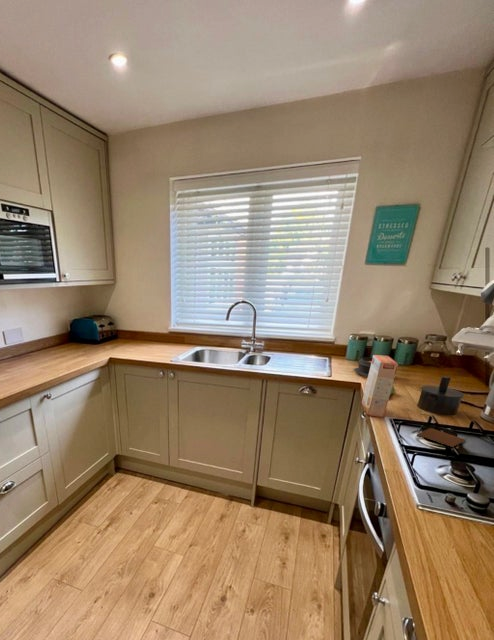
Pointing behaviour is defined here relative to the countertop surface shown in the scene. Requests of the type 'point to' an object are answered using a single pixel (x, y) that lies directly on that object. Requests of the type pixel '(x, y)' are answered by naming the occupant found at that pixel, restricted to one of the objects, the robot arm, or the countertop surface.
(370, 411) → the cracker box
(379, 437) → the countertop surface
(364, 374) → the dark grey rounded piece
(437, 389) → the lid
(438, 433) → the plate
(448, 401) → the pot
